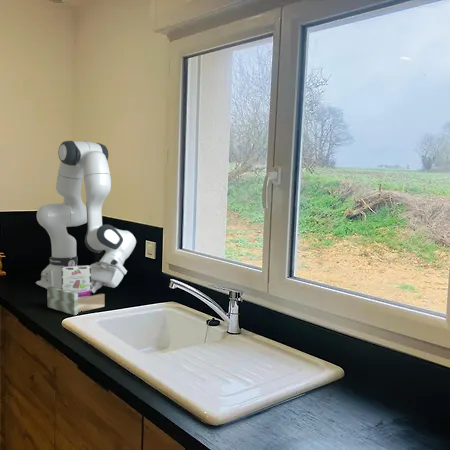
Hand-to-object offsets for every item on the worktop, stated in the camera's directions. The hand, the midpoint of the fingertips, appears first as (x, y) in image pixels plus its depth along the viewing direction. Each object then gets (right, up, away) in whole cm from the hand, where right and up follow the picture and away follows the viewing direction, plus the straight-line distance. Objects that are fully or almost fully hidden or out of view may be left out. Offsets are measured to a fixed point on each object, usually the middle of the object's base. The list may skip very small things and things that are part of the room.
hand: (90, 291), depth 206 cm
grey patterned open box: (-4, -6, -4) cm, 8 cm away
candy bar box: (-4, -6, -4) cm, 9 cm away
